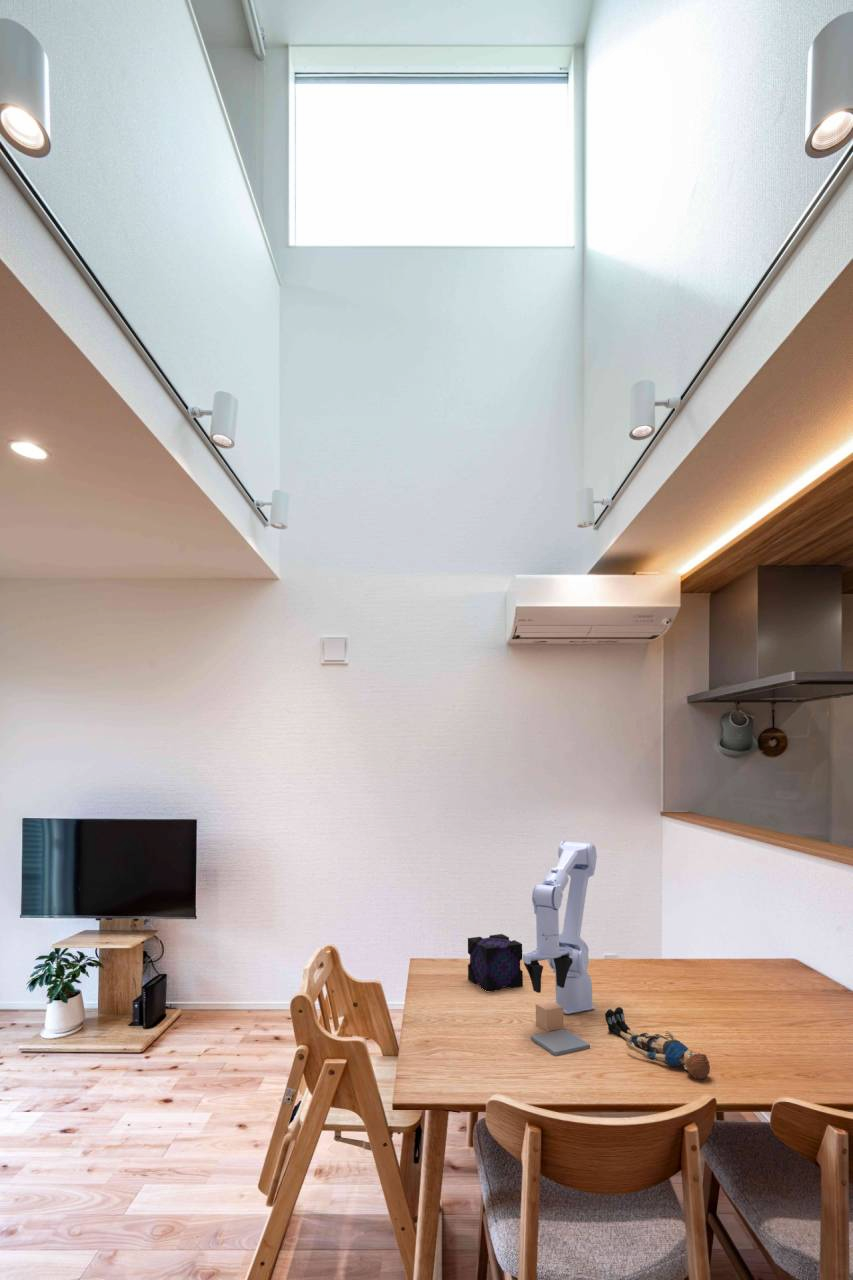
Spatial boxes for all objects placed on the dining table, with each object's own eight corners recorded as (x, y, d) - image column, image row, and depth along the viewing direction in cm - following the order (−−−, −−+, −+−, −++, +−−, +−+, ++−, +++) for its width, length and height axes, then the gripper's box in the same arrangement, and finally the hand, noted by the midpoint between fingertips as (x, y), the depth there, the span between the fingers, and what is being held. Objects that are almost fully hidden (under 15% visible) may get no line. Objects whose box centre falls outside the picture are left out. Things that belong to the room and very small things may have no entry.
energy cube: (487, 992, 205) (486, 948, 206) (468, 979, 216) (467, 938, 217) (522, 986, 209) (522, 943, 211) (502, 974, 220) (502, 933, 222)
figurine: (633, 1002, 181) (726, 1044, 155) (635, 1029, 180) (729, 1075, 154) (591, 1012, 176) (681, 1056, 149) (593, 1039, 175) (684, 1089, 148)
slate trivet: (564, 1032, 176) (564, 1028, 176) (590, 1048, 167) (590, 1044, 167) (530, 1039, 172) (530, 1036, 172) (555, 1055, 163) (554, 1052, 163)
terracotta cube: (552, 1021, 184) (551, 1000, 184) (563, 1028, 179) (563, 1007, 180) (535, 1024, 182) (535, 1003, 182) (547, 1031, 177) (546, 1010, 178)
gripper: (559, 926, 190) (561, 979, 188) (515, 933, 184) (516, 988, 182) (577, 932, 184) (578, 987, 182) (532, 939, 177) (533, 997, 175)
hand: (548, 989), depth 182 cm, fingers open, 7 cm apart
